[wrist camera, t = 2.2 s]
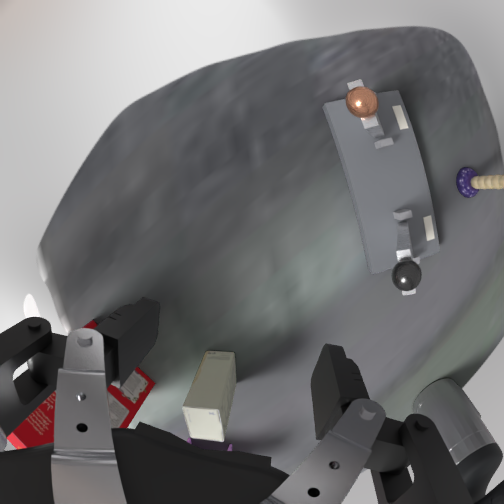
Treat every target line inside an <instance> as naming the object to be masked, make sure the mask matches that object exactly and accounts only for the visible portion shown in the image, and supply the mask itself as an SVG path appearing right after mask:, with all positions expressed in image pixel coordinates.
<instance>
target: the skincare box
mask: <svg viewBox="0 0 504 504" xmlns="http://www.w3.org/2000/svg"><path fill="white" fill-rule="evenodd" d="M235 388H236V365H235V354H234V352H221V351H206V352H205V354H204V357H203V359H202V361H201V364H200V366H199V369H198V371H197V373H196V376H195V378H194V381H193V383H192V385H191V388H190V390H189V393H188V395H187V397H186V400H185V402H184V404H183V406H182V408H183V413H184V417H185V421H186V424H187V428H188V431H189V434H190V437H191V438H196V439H203V440H210V441H220V442H223V441H224V439H225V434H226V429H227V425H228V420H229V416H230V411H231V406H232V402H233V397H234V392H235Z"/></svg>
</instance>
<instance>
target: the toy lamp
mask: <svg viewBox="0 0 504 504" xmlns="http://www.w3.org/2000/svg"><path fill="white" fill-rule="evenodd" d="M456 183H457V187H458V190H459V192H460V193H461V194H462V195H463V196H464V197H467V198H470V197H473V196H475V195H476V194H477V193H478V191H479V189H481V188H482V189H487V188H488V189H494V188H496V189H501V188H503V189H504V175H494V176H493V175H488V176H481V177H479V176H478V175H477V173H476V172H475V171H474V170H473V169H471V168H468V167H464V168H462V169H461V170H460V171H459V172H458V174H457V180H456Z"/></svg>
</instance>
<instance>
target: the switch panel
mask: <svg viewBox="0 0 504 504" xmlns="http://www.w3.org/2000/svg"><path fill="white" fill-rule="evenodd" d="M374 93H375V92H374ZM375 94H376V96H377V98H378V101H379V107H378V110H377V115H378V117H379V120H380V123H381V126H382V129H383V132H384V135H385V136H384V137H380V138H374V137H373V136H372V135H371V134H370V133H369V132H367V131H366V130H365V129H364V126H363V123H362V120H361V118H358V117H356V116H354V115H353V114H351V113H350V112H349V110H348V109H347V106H346V99H342V100H337V101H333V102H328V103H325V104H324V106H323V110H324V113H325V116H326V118H327V121H328V124H329V127H330V129H331V132H332V135H333V138H334V141H335V144H336V147H337V150H338V153H339V157H340V160H341V163H342V166H343V169H344V173H345V176H346V180H347V183H348V187H349V190H350V194H351V197H352V201H353V205H354V209H355V213H356V217H357V221H358V225H359V229H360V233H361V237H362V242H363V246H364V251H365V256H366V260H367V265H368V270H369V271H370V272H371V273H372V274H376V273H379V272H383V271H386V270H389V269H392V268H394V266H395V265H396V264H397V263H398V259H397V253H396V247H397V228H398V222H399V221H403V220H407V222H408V227H409V233H410V238H411V244H412V250H413V259H414V261H415V262H416V263H417V264H419V263H420V259H422V258H425V257H427V256H430V255H433V254H436V253H439V252H440V248H439V240H438V233H437V227H436V221H435V215H434V210H433V205H432V200H431V195H430V190H429V186H428V182H427V177H426V173H425V169H424V166H423V162H422V158H421V155H420V151H419V148H418V144H417V141H416V138H415V135H414V132H413V129H412V126H411V123H410V120H409V117H408V114H407V111H406V109H405V106H404V103H403V101H402V98H401V96H400V93H399V91H398V90H395V91H388V92H381V93H375Z"/></svg>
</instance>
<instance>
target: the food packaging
mask: <svg viewBox="0 0 504 504" xmlns="http://www.w3.org/2000/svg"><path fill="white" fill-rule="evenodd" d="M96 326H97V324H96V323H95V322H94V321H93V320H92V321H90V322H89V323H88V324H86V325H85V326H84V327H82V328H88V329H94V328H95V327H96ZM154 385H155V383H154V382H153V381H152V380H151V379H150V378H149V377H148V376H147V375H146V374H145V373H144V372H142V371H141V370H140V369H139V368H138V367H136V369H135V370H134V371H133V373H132V374H131V375H130V376H129V378H128V379H127V380H126V382H125V383H124V384H123V385H122V387H121V388H118V387H116V386H114V385H110V386H109V387H108V388H107V392H108V401H109V409H110V416H111V423H112V428H127V427H128V426H129V424H130V423H131V421H132V419H133V418H134V416H135V415H136V413H137V412H138V410H139V408H140V407H141V405H142V404H143V402H144V400H145V399H146V397H147V396H148V394H149V393H150V391H151V389H152V388H153V386H154ZM55 400H56V390H55V391H54V392H53V393H52V394H51V395H50V396H49V397H48V398H47V399H46V400H45V401H44V402H43V403H42V404H41V405H40V406H39V407H37V408H36V409H35V410H34V411H33V412H32V413H31V414H30V415H29V416H28V417H27V418H26V419H25V420H24V421H23V422H22V423H21V424H20V425H19V426H18V427H17V428H16V429H15V430H14V431H13V432H12V433H11V434H10V435H9V436H8V437H7V439H8V440H9V441H10V442H11V443H12V445H13V446H14V447H15V448H17V449H22V448H28V447H33V446H38V445H43V444H48V443H52V442H54V419H55Z"/></svg>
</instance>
